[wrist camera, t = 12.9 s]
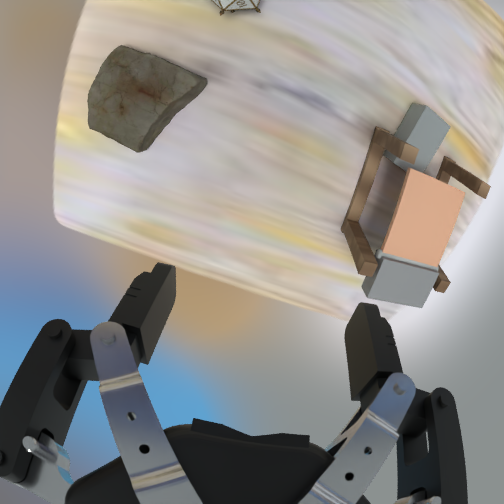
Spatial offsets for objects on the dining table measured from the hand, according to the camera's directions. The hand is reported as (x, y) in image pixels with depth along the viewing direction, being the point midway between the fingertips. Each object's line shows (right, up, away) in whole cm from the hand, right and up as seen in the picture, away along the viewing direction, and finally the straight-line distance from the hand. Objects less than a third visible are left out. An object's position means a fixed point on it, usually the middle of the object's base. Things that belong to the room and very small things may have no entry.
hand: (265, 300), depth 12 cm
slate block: (+23, +18, +22) cm, 37 cm away
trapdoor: (+22, +4, +24) cm, 32 cm away
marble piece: (-17, +26, +25) cm, 40 cm away
